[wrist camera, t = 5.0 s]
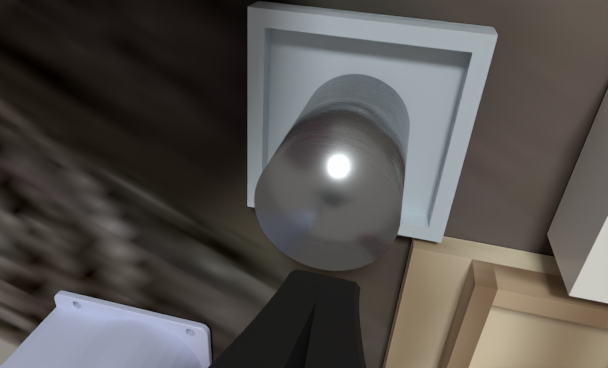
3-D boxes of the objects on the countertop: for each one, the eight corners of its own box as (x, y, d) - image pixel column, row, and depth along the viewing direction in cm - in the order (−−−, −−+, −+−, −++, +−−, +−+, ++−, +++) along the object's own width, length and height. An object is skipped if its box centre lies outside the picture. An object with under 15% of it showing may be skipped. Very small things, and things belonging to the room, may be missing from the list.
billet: (301, 163, 19) (253, 255, 14) (307, 67, 17) (254, 133, 12) (399, 180, 18) (387, 283, 13) (419, 81, 16) (414, 158, 11)
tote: (256, 191, 21) (247, 206, 20) (258, 0, 17) (247, 6, 16) (440, 225, 19) (441, 243, 18) (493, 27, 15) (497, 35, 14)
